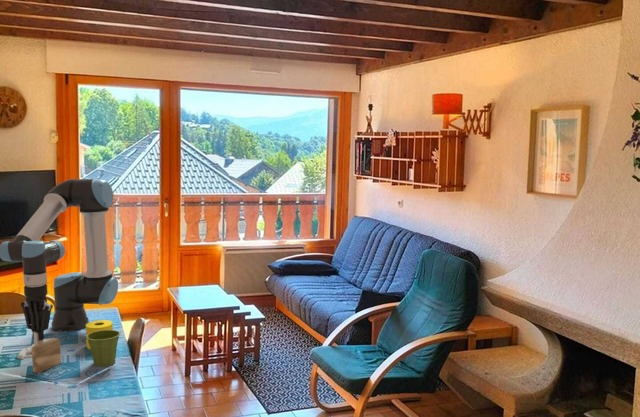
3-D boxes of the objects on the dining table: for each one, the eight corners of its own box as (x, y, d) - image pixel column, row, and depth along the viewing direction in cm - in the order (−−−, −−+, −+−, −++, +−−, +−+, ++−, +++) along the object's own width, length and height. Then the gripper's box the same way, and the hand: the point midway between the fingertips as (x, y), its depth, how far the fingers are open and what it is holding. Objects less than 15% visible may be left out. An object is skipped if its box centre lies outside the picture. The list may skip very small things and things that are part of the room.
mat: (55, 360, 229) (55, 359, 229) (85, 365, 224) (85, 364, 224) (21, 376, 214) (21, 374, 214) (52, 382, 209) (52, 380, 209)
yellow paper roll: (114, 341, 250) (113, 319, 248) (112, 350, 240) (111, 326, 239) (88, 343, 247) (87, 320, 246) (85, 352, 238) (83, 328, 236)
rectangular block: (32, 371, 217) (31, 346, 216) (54, 361, 226) (53, 338, 225) (39, 372, 216) (38, 348, 215) (61, 362, 225) (59, 339, 224)
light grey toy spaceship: (28, 337, 245) (55, 335, 247) (29, 345, 245) (55, 344, 247) (15, 355, 227) (44, 354, 229) (15, 364, 228) (44, 363, 230)
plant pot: (128, 360, 229) (127, 331, 228) (107, 372, 218) (106, 341, 217) (101, 356, 233) (100, 327, 232) (80, 367, 222) (78, 337, 221)
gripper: (13, 285, 217) (16, 349, 220) (41, 288, 213) (44, 354, 216) (30, 280, 224) (33, 343, 227) (57, 283, 220) (60, 347, 222)
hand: (38, 348), depth 221 cm, fingers closed
